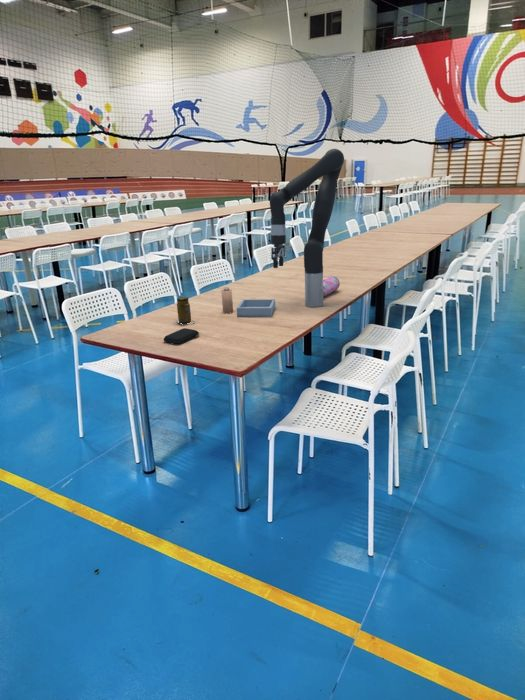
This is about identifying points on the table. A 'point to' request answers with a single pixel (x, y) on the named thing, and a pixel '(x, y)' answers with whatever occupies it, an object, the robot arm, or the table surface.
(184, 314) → the condiment
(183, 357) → the table surface
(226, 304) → the cruet
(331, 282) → the pencil case
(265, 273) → the table surface
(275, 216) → the robot arm
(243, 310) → the bin
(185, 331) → the carrying case or bag
